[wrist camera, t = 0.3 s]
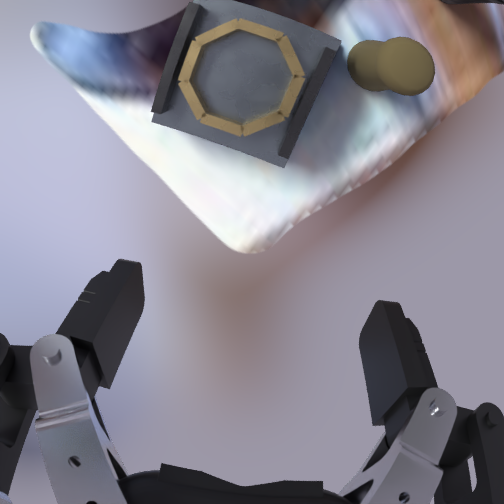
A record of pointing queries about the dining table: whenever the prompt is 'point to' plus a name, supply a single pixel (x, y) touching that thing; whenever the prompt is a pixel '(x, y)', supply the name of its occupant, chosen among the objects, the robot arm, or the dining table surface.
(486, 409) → the robot arm
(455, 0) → the beverage cup
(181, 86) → the grey peg socket base
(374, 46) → the cork
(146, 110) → the dining table surface
